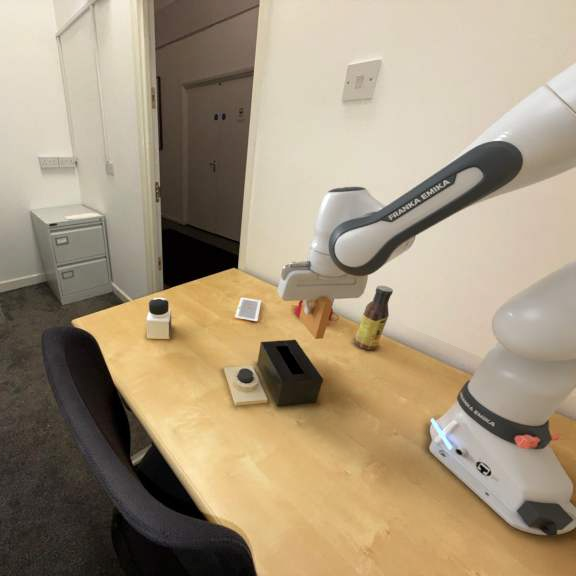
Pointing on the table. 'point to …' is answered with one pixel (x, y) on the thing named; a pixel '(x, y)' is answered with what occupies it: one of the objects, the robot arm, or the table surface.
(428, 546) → the table surface
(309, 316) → the toast
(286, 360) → the toaster
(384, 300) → the sauce bottle
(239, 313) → the touchpad
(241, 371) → the button
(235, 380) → the control block
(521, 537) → the table surface
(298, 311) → the alarm clock
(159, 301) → the medicine bottle
